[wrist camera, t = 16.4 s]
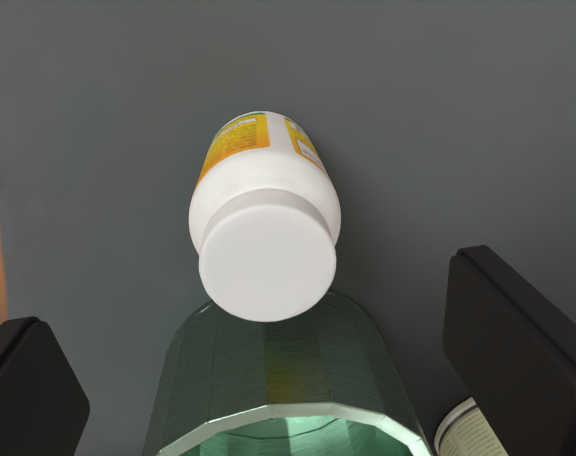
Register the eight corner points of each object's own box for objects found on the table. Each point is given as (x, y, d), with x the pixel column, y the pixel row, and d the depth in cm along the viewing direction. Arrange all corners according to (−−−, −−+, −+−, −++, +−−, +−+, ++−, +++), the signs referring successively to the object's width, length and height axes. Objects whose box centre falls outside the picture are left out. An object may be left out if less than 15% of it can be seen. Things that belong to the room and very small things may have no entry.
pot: (383, 262, 23) (448, 377, 16) (383, 422, 30) (428, 555, 23) (137, 299, 23) (83, 434, 15) (194, 452, 30) (177, 597, 22)
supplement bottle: (327, 123, 19) (390, 205, 11) (298, 220, 21) (331, 350, 13) (216, 96, 18) (189, 162, 10) (198, 200, 20) (163, 327, 12)
